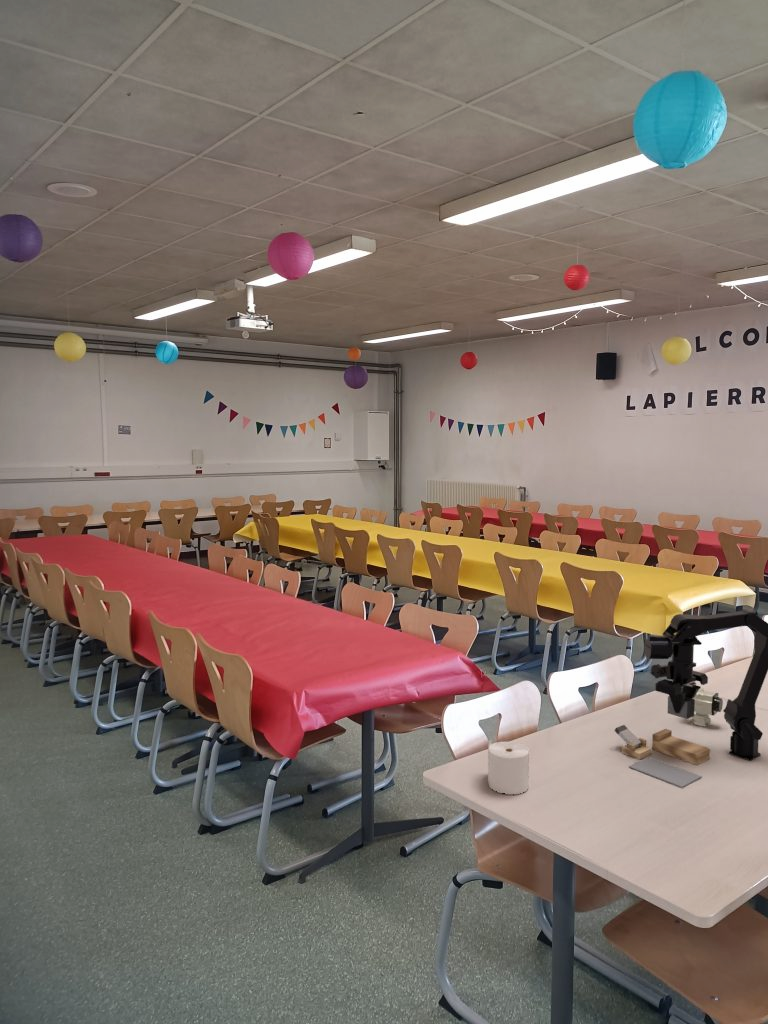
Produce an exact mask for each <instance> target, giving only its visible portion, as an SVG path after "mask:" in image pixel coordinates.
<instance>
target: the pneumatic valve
mask: <svg viewBox="0 0 768 1024" xmlns="http://www.w3.org/2000/svg"><path fill="white" fill-rule="evenodd" d="M693 699H695V706H694V716H693V717H691V722H692V723H693V725H694V726H698V727H703V728H706V727H708V726H710V724H711V721H712V720H711V717H710V716H716V715H717V713H721V712H722V711H723V705H724V703H723V702H724V701H723V698H721V697H720V695H719V692H715V691H709V690H705V689H704V688H702V687H701V688H700V689H699V690H698V692H697V694H696V695H695V697H694V698H693Z"/></svg>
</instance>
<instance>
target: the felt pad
mask: <svg viewBox="0 0 768 1024" xmlns="http://www.w3.org/2000/svg"><path fill="white" fill-rule="evenodd" d="M628 768H629V769H631V770H633V771H636V772H639V773H642V774H644V775H647V776H650V777H652V778H655V779H657V780H660V781H661V782H664V783H667V784H670V785H672V786H674V787H678V788H681V789H684V788H685V787H687V786H689V785H690V784H693V783H694V782H697V781H698V780H701V779H702V778H703V775H700V774H697V773H694V772H691V771H689V770H686V769H683V768H680V767H678V766H674V765H672V764H669V763H667V762H664V761H661V760H658V759H656V758H653V757H651V756H647V757H645V758H643V759H641V760H639V761H637V762H634V763H632V764H630V765H628Z"/></svg>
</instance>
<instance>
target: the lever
mask: <svg viewBox="0 0 768 1024" xmlns="http://www.w3.org/2000/svg"><path fill="white" fill-rule="evenodd" d="M614 732H615V733H616V734H617V735H618V736H619V737H620V738H621V739H622V740H623V741H624V742H625V743H626V745H627V744H628V743H631V744H634V745H635V748H637V747H639V746H641V745H642V742H641V741H640V740H639V738H638V737H637V736H636V735H635V734H634V733H633V732H632V731H631V730H630V729H629V728H628V727H627V726H626V725H625V724H622V725H620V726H617V727H615V728H614Z"/></svg>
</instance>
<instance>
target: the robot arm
mask: <svg viewBox="0 0 768 1024" xmlns="http://www.w3.org/2000/svg"><path fill="white" fill-rule="evenodd" d="M669 623H670V624H669V625H668V626H667V628H666V629H665V630H664V631H663V632H662V635H652V634H648V635H647V637H646V640H645V642H644V645H643V650H644V655H645V658H646V659H647V660H668V659H670V658H671V660H669V661H668V662H667V664H661V665H660V664H659V663H657V664H652V665H651V668H650V675H652V677H654V679H659V678H664V679H661V680H659V681H657V682H656V683H655V684H654V691H656V692H659V693H662V694H665V695H668V696H670V699H671V702H672V705H673V708H674V711H675V713H679V712H680V709H681V707H682V704H683V701H684V698H685V697H689V698H692V699H693V698H694V697H695V695H696V694H697V692H698V690H699V689H701V688H702V687H701V686H704V685H707V684H708V682H709V681H708V680H709V677H708V676H707V674H706V673H704V672H701V671H696V670H694V668H696V667H697V662H694V654H695V653H694V649H695V647H694V646H700V645H702V644H703V643H702V642H701V641H700V640H699V639H698V638H697V636H701V635H702V634H704V633H706V632H709V631H716V630H725V629H731V628H732V629H733V628H741V627H746V626H747V628H749V629H750V630H751V631H752V632H754V638H753V639H754V641H753V643H754V653H753V655H752V658H751V661H750V664H749V666H748V668H747V671H746V675H745V677H744V679H743V682H742V684H741V687H740V689H739V693H738V695H737V696H736V697H735V699H733V700H731V699H730V698H728V699H727V700H726V701H727V702H726V705H725V708H724V709H722V712H723V713H724V714H723V717H724V719H725V722H726V723H727V724H728V725H729V727H730V729H731V730H733V731H732V732H731V735H730V736H729V737H730V740H729V741H730V742H729V746H730V747H729V749H730V751H728V754H729V755H731V756H735V757H737V758H741V759H743V760H748V761H753V760H755V759H757V758H759V757H761V753H760V752H759V741H760V740H761V739H762V737H763V732H762V731H761V730H760V728H759V727H757V726H756V724H755V723H756V716H757V712H756V703H757V701H758V697H759V694H760V692H761V690H762V687H763V685H764V682H765V679H766V676H767V674H768V622H767V621H765V620H764V619H762V618H761V617H760V616H758V614H757V613H755V612H753V611H751V610H748V609H742V610H739V611H731V612H723V613H714V614H709V615H707V614H706V615H697V614H696V615H695V614H683V613H679V614H675V615H674V616H673V617H672V618H671V620H670V622H669ZM696 681H697V682H699V683H700V685H701V686H700V685H697V683H696Z"/></svg>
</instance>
